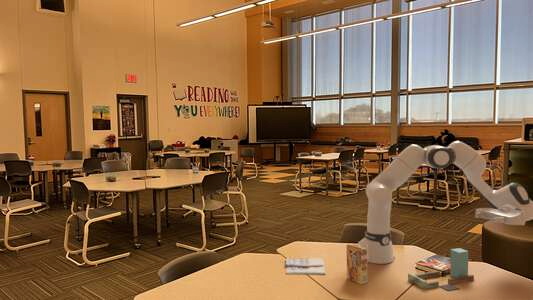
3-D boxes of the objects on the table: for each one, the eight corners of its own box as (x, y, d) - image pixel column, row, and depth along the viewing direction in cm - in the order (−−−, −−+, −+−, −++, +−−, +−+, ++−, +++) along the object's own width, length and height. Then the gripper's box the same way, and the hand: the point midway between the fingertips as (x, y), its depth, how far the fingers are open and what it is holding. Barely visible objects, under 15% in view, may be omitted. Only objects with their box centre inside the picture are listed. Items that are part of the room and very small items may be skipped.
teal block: (450, 275, 183) (450, 249, 182) (459, 274, 184) (459, 248, 184) (459, 279, 178) (459, 252, 177) (467, 278, 180) (468, 251, 179)
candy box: (368, 282, 176) (367, 247, 175) (361, 285, 174) (360, 249, 173) (353, 276, 184) (352, 243, 183) (346, 278, 181) (346, 244, 180)
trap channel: (400, 276, 183) (400, 269, 183) (447, 268, 192) (447, 262, 192) (433, 293, 164) (433, 286, 164) (483, 284, 173) (483, 277, 172)
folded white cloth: (323, 261, 206) (323, 257, 206) (325, 276, 186) (325, 272, 186) (285, 261, 208) (285, 256, 208) (283, 275, 188) (283, 271, 188)
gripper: (488, 203, 198) (466, 207, 194) (528, 211, 179) (504, 215, 174) (489, 216, 199) (466, 220, 194) (528, 225, 179) (504, 230, 175)
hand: (484, 218), depth 184 cm, fingers open, 8 cm apart
